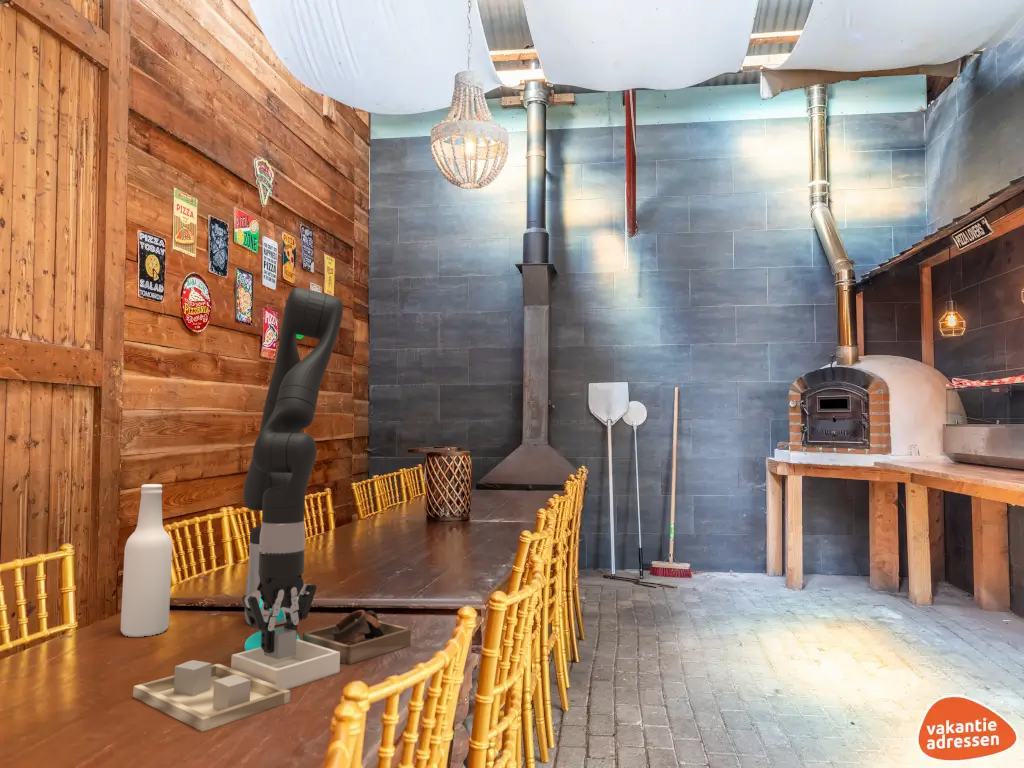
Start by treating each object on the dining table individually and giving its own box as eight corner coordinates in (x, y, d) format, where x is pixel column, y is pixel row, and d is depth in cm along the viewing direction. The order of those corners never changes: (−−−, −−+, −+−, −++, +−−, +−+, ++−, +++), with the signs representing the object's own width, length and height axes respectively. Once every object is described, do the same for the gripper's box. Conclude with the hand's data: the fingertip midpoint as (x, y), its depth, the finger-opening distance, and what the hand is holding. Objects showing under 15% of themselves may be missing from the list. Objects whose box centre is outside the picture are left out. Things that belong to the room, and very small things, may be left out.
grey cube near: (212, 708, 106) (213, 680, 106) (234, 701, 108) (235, 674, 109) (227, 715, 103) (228, 686, 103) (249, 707, 106) (250, 680, 106)
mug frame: (300, 649, 136) (300, 633, 136) (364, 631, 149) (364, 617, 149) (348, 665, 128) (348, 647, 128) (412, 644, 140) (412, 629, 141)
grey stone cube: (173, 692, 111) (174, 666, 112) (191, 685, 115) (192, 659, 115) (193, 696, 110) (194, 669, 110) (210, 689, 113) (211, 663, 113)
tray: (132, 700, 109) (133, 686, 110) (217, 676, 121) (218, 663, 121) (202, 735, 97) (203, 719, 98) (289, 705, 108) (290, 690, 109)
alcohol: (126, 640, 140) (134, 486, 142) (115, 630, 147) (123, 484, 149) (174, 632, 146) (180, 485, 148) (161, 623, 153) (168, 482, 155)
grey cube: (264, 655, 122) (264, 631, 122) (281, 650, 125) (282, 627, 125) (278, 659, 120) (278, 635, 120) (295, 654, 122) (296, 630, 123)
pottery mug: (384, 660, 133) (363, 623, 131) (341, 679, 134) (319, 643, 133) (398, 626, 144) (379, 592, 143) (358, 644, 146) (338, 610, 144)
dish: (230, 679, 120) (231, 654, 120) (294, 660, 130) (295, 638, 130) (275, 697, 112) (276, 670, 112) (339, 675, 122) (340, 652, 122)
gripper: (302, 541, 132) (299, 636, 130) (232, 550, 120) (228, 655, 119) (328, 545, 127) (325, 644, 126) (258, 555, 116) (254, 664, 115)
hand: (278, 648), depth 122 cm, fingers closed on grey cube, 3 cm apart
